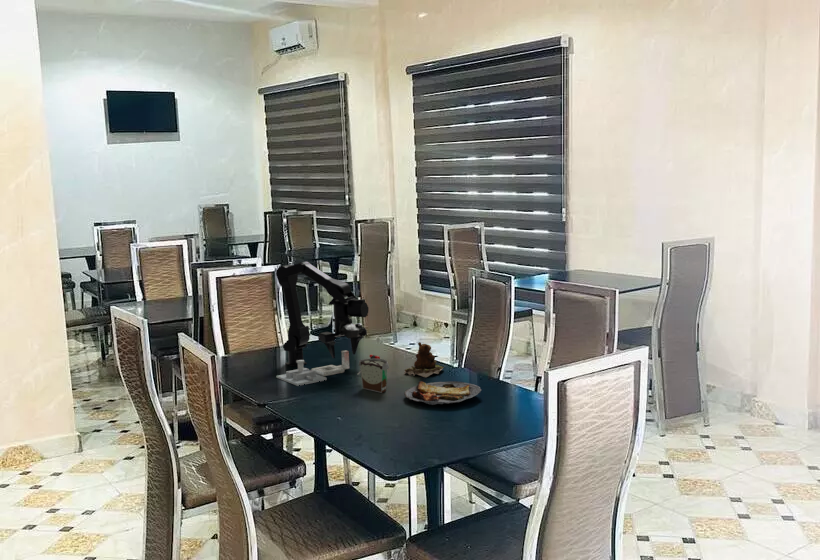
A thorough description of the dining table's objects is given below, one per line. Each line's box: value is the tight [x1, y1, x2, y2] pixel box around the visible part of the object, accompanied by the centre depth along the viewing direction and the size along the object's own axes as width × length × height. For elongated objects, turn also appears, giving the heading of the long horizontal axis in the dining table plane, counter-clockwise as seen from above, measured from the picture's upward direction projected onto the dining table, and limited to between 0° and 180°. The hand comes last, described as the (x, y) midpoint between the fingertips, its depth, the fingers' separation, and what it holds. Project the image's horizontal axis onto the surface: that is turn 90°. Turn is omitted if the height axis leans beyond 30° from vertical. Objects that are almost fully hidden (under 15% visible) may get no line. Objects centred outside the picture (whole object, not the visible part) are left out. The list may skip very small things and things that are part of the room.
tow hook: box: [356, 354, 381, 376], centre depth 296 cm, size 7×10×7 cm
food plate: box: [403, 380, 482, 406], centre depth 261 cm, size 25×23×4 cm
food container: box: [358, 358, 390, 394], centre depth 274 cm, size 12×6×10 cm, turn 47°
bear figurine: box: [403, 342, 445, 378], centre depth 295 cm, size 14×15×12 cm
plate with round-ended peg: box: [275, 359, 327, 387], centre depth 291 cm, size 16×12×7 cm
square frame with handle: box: [310, 349, 350, 377], centre depth 301 cm, size 14×9×7 cm, turn 127°
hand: (343, 356), depth 304 cm, fingers open, 9 cm apart
